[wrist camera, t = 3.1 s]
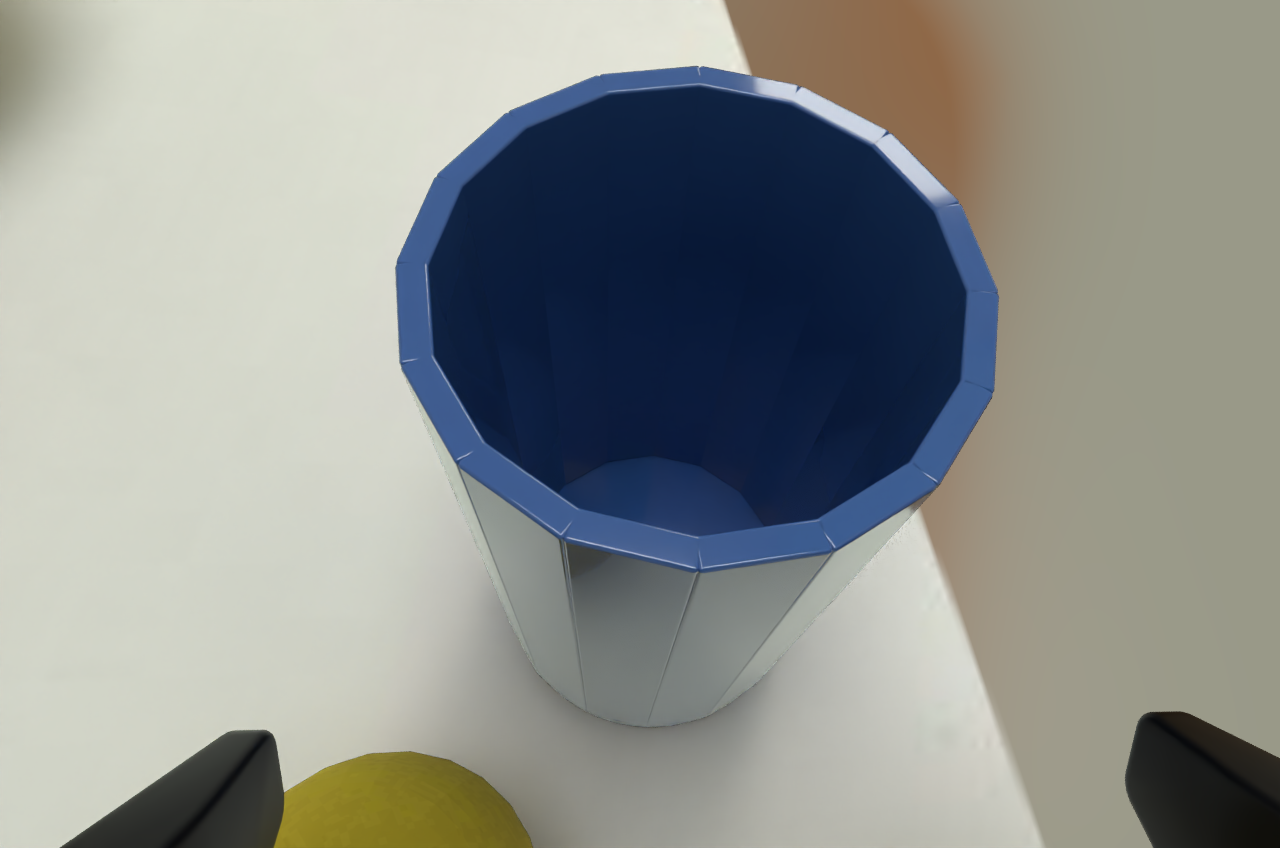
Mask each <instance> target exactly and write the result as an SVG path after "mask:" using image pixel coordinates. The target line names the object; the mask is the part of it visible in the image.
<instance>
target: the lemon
mask: <svg viewBox="0 0 1280 848" xmlns="http://www.w3.org/2000/svg"><path fill="white" fill-rule="evenodd" d="M274 848H533V846H532V843H531V840H530V837H529V835H528V834H527V832H526V830H525V829H524V827H523V825H522V823H521V822H520V820H519V818H518V817H517V815H516V813H515V812H514V810H513V808H512V806H511V805H510V804H509V803H508V802H507V801H506V800H505V799H504V798H503V797H502V796H501V795H500V794H499V793H498V792H497V791H496V790H495V789H494V788H493V787H492V786H491V785H490V784H489V783H488V782H487V781H486V780H485V779H483V778H482V777H481V776H479V775H477V774H475V773H473V772H471V771H469V770H467V769H466V768H464V767H462V766H460V765H458V764H456V763H454V762H452V761H451V760H447V759H442V758H438V757H433V756H429V755H424V754H420V753H415V752H411V751H409V752H391V753H372V754H366V755H363V756H360V757H357V758H354V759H351V760H348V761H345V762H341V763H338V764H335V765H332V766H329V767H327V768H324V769H323V770H321V771H319V772H318V773H316V774H314V775H313V776H311V777H309V778H308V779H306V780H304V781H303V782H301V783H299V784H298V785H296V786H294V787H293V788H291V789H289V790H288V791H286V792H285V793H284V812H283V818H282V822H281V825H280V829H279V832H278V835H277V839H276V842H275V846H274Z"/></svg>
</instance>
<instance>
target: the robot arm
mask: <svg viewBox="0 0 1280 848" xmlns="http://www.w3.org/2000/svg"><path fill="white" fill-rule="evenodd" d="M1125 784H1126V791H1127V794H1128V797H1129V800H1130V802H1131V804H1132V806H1133V808H1134V810H1135V812H1136V814H1137V816H1138V818H1139V820H1140V822H1141V824H1142V826H1143V828H1144V830H1145V832H1146V834H1147V836H1148V838H1149V840H1150V842H1151V844H1152V846H1153V848H1280V758H1278V757H1276V756H1274V755H1272V754H1270V753H1268V752H1266V751H1264V750H1262V749H1260V748H1258V747H1256V746H1254V745H1252V744H1250V743H1248V742H1246V741H1244V740H1242V739H1240V738H1238V737H1236V736H1233V735H1232V734H1229V733H1227V732H1225V731H1223V730H1221V729H1219V728H1217V727H1215V726H1213V725H1211V724H1209V723H1207V722H1205V721H1203V720H1201V719H1199V718H1197V717H1195V716H1193V715H1191V714H1188V713H1185V712H1150V713H1146V714H1144V715H1143V716H1142V717H1141V718H1140V720H1139V721H1138V724H1137V727H1136V731H1135V735H1134V740H1133V744H1132V748H1131V752H1130V757H1129V761H1128V765H1127V769H1126V774H1125ZM283 812H284V790H283V784H282V777H281V771H280V765H279V758H278V752H277V746H276V741H275V738H274V736H273V734H272V733H270V732H269V731H267V730H236V731H230V732H227V733H226V734H224V735H222V736H221V737H219V738H218V739H216V740H215V741H213V742H212V743H210V744H209V745H208V746H206V747H205V748H203V749H202V750H200V751H199V752H197V753H196V754H195V755H193V756H192V757H190V758H189V759H187V760H186V761H184V762H183V763H182V764H180V765H179V766H177V767H176V768H174V769H173V770H171V771H170V772H169V773H167V774H166V775H164V776H163V777H161V778H160V779H158V780H157V781H156V782H154V783H153V784H151V785H150V786H148V787H147V788H145V789H144V790H143V791H141V792H140V793H138V794H137V795H135V796H134V797H132V798H131V799H129V800H128V801H127V802H125V803H124V804H122V805H121V806H119V807H118V808H116V809H115V810H114V811H112V812H111V813H109V814H108V815H106V816H105V817H103V818H102V819H101V820H99V821H98V822H96V823H95V824H93V825H92V826H90V827H89V828H88V829H86V830H85V831H83V832H82V833H80V834H79V835H77V836H76V837H75V838H73V839H72V840H70V841H69V842H67V843H66V844H64V845H63V846H62V847H60V848H274V846H275V842H276V839H277V835H278V832H279V829H280V825H281V822H282V818H283Z"/></svg>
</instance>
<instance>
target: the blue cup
mask: <svg viewBox="0 0 1280 848" xmlns="http://www.w3.org/2000/svg"><path fill="white" fill-rule="evenodd" d="M395 274H396V297H397V319H398V342H399V363H400V365H401V370H402V372H403V375H404V377H405V379H406V382H407V384H408V386H409V389H410V391H411V393H412V396H413V398H414V400H415V403H416V405H417V407H418V410H419V412H420V414H421V417H422V419H423V421H424V424H425V426H426V428H427V431H428V433H429V435H430V438H431V440H432V442H433V445H434V447H435V449H436V452H437V454H438V456H439V459H440V461H441V463H442V466H443V468H444V470H445V473H446V475H447V477H448V480H449V482H450V484H451V487H452V489H453V491H454V494H455V496H456V498H457V501H458V503H459V505H460V508H461V510H462V512H463V515H464V517H465V519H466V522H467V524H468V526H469V529H470V531H471V533H472V536H473V538H474V540H475V543H476V545H477V547H478V550H479V552H480V554H481V557H482V559H483V561H484V564H485V566H486V568H487V571H488V573H489V575H490V578H491V580H492V583H493V585H494V587H495V590H496V592H497V594H498V597H499V599H500V601H501V604H502V606H503V608H504V611H505V613H506V615H507V618H508V620H509V622H510V625H511V627H512V628H513V630H514V632H515V634H516V636H517V637H518V639H519V641H520V643H521V645H522V647H523V649H524V651H525V653H526V655H527V656H528V658H529V660H530V661H531V663H532V665H533V666H534V668H535V670H536V672H537V673H538V674H539V676H540V677H541V678H543V679H544V680H545V681H546V682H547V683H548V684H549V685H550V686H551V687H552V688H553V689H554V690H555V691H557V692H558V693H559V694H560V695H561V696H562V697H563V698H565V699H566V700H568V701H569V702H571V703H572V704H574V705H575V706H577V707H578V708H580V709H582V710H584V711H586V712H588V713H590V714H592V715H594V716H596V717H599V718H602V719H605V720H608V721H611V722H614V723H618V724H624V725H629V726H635V727H664V726H674V725H679V724H683V723H687V722H691V721H695V720H697V719H700V718H705V717H706V716H709V715H711V714H712V713H714V712H716V711H718V710H719V709H721V708H723V707H725V706H726V705H728V704H730V703H731V702H732V701H733V700H735V699H736V698H737V697H739V696H740V695H741V694H743V693H744V692H745V691H747V690H748V689H750V688H751V687H753V686H754V685H755V684H756V683H757V682H758V681H759V680H760V679H761V678H762V677H763V676H764V675H765V674H766V673H767V672H768V671H769V669H770V668H771V667H772V666H773V665H774V664H775V663H776V662H777V661H778V660H779V659H780V658H781V656H782V655H783V654H784V653H785V652H786V651H787V650H788V649H789V648H790V647H791V646H792V644H793V643H794V642H795V641H796V640H797V639H798V638H799V637H800V636H801V635H802V634H803V633H804V631H805V630H806V629H807V628H808V627H809V626H810V625H811V624H812V623H813V622H814V621H815V620H816V618H817V617H818V616H819V615H820V614H821V613H822V612H823V611H824V610H825V609H826V608H827V606H828V605H829V604H830V603H831V602H832V601H833V600H834V599H835V598H836V597H837V596H838V595H839V593H840V592H841V591H842V590H843V589H844V588H845V587H846V586H847V585H848V584H849V583H850V582H851V580H852V579H853V578H854V577H855V576H856V575H857V574H858V573H859V572H860V571H861V570H862V568H863V567H864V566H865V565H866V564H867V563H868V562H869V561H870V560H871V559H872V558H873V557H874V555H875V554H876V553H877V552H878V551H879V550H880V549H881V548H882V547H883V546H884V545H885V544H886V542H887V541H888V540H889V539H890V538H891V537H892V536H893V535H894V534H895V533H896V532H897V531H898V529H899V528H900V527H901V526H902V525H903V524H904V523H905V522H906V521H907V520H908V519H909V517H910V516H911V515H912V514H913V513H914V512H915V511H916V510H917V509H918V508H919V507H920V506H921V504H922V503H923V502H924V501H925V500H926V499H927V498H928V497H929V496H930V495H931V494H932V493H933V491H934V490H935V489H936V488H937V487H938V486H939V485H940V483H941V482H942V480H943V478H944V477H945V475H946V474H947V472H948V470H949V468H950V467H951V465H952V464H953V462H954V460H955V458H956V457H957V455H958V454H959V452H960V450H961V448H962V447H963V445H964V443H965V442H966V440H967V439H968V437H969V435H970V433H971V432H972V430H973V428H974V427H975V425H976V424H977V422H978V420H979V419H980V417H981V415H982V414H983V412H984V410H985V409H986V407H987V405H988V404H989V402H990V400H991V399H992V393H993V392H994V381H995V363H996V362H995V361H996V342H997V321H998V302H999V296H998V294H997V293H998V290H997V287H996V285H995V283H994V280H993V278H992V276H991V273H990V271H989V269H988V266H987V264H986V262H985V259H984V257H983V255H982V252H981V250H980V247H979V245H978V243H977V240H976V238H975V236H974V234H973V231H972V229H971V226H970V224H969V222H968V219H967V217H966V214H965V212H964V210H963V207H962V205H961V204H959V201H958V200H957V199H956V198H955V197H954V196H953V195H952V194H951V193H950V192H949V191H948V190H947V189H946V188H945V186H944V185H943V184H942V183H941V182H940V181H939V180H938V179H937V178H936V177H935V176H934V175H933V174H932V173H931V172H930V171H929V170H928V169H927V168H926V167H925V166H924V165H923V164H922V163H921V162H920V161H919V160H918V159H917V158H916V157H915V156H914V155H913V154H912V153H911V152H910V151H909V150H908V149H907V148H906V147H905V146H904V145H903V144H902V143H901V142H900V141H899V140H898V139H897V138H896V137H895V136H894V135H893V134H892V133H889V131H887V130H886V129H884V128H882V127H880V126H878V125H876V124H874V123H872V122H871V121H869V120H867V119H865V118H863V117H861V116H859V115H857V114H855V113H853V112H851V111H849V110H847V109H845V108H843V107H841V106H839V105H837V104H836V103H833V102H832V101H830V100H828V99H826V98H824V97H822V96H820V95H818V94H816V93H814V92H812V91H810V90H808V89H806V88H804V87H802V86H801V87H799V86H798V85H797V84H791V83H786V82H781V81H776V80H770V79H765V78H760V77H755V76H750V75H745V74H740V73H735V72H730V71H724V70H719V69H714V68H709V67H704V66H702V67H700V68H699V67H698V66H690V67H679V68H667V69H656V70H644V71H633V72H621V73H609V74H601V75H600V76H594V77H591V78H589V79H586V80H584V81H581V82H579V83H577V84H574V85H572V86H569V87H567V88H564V89H562V90H559V91H557V92H554V93H552V94H549V95H547V96H544V97H542V98H539V99H537V100H534V101H532V102H530V103H527V104H525V105H522V106H520V107H517V108H515V109H512V110H510V111H509V113H505V114H504V115H503V116H502V117H501V118H499V119H498V120H497V121H496V122H495V123H494V124H493V125H492V126H491V127H489V128H488V129H487V130H486V131H485V132H484V133H483V134H482V135H480V136H479V137H478V138H477V139H476V140H475V141H474V142H473V143H472V144H470V145H469V146H468V147H467V148H466V149H465V150H464V151H463V152H461V153H460V154H459V155H458V156H457V157H456V158H455V159H454V160H453V161H451V162H450V163H449V164H448V165H447V166H446V167H445V168H444V169H442V170H441V171H440V172H439V173H438V174H437V177H435V178H434V180H433V182H432V185H431V187H430V189H429V191H428V193H427V196H426V198H425V200H424V202H423V204H422V206H421V209H420V211H419V213H418V215H417V217H416V220H415V222H414V224H413V226H412V228H411V231H410V233H409V235H408V237H407V239H406V242H405V244H404V246H403V248H402V250H401V253H400V255H399V257H398V259H397V265H396V267H395Z"/></svg>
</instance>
